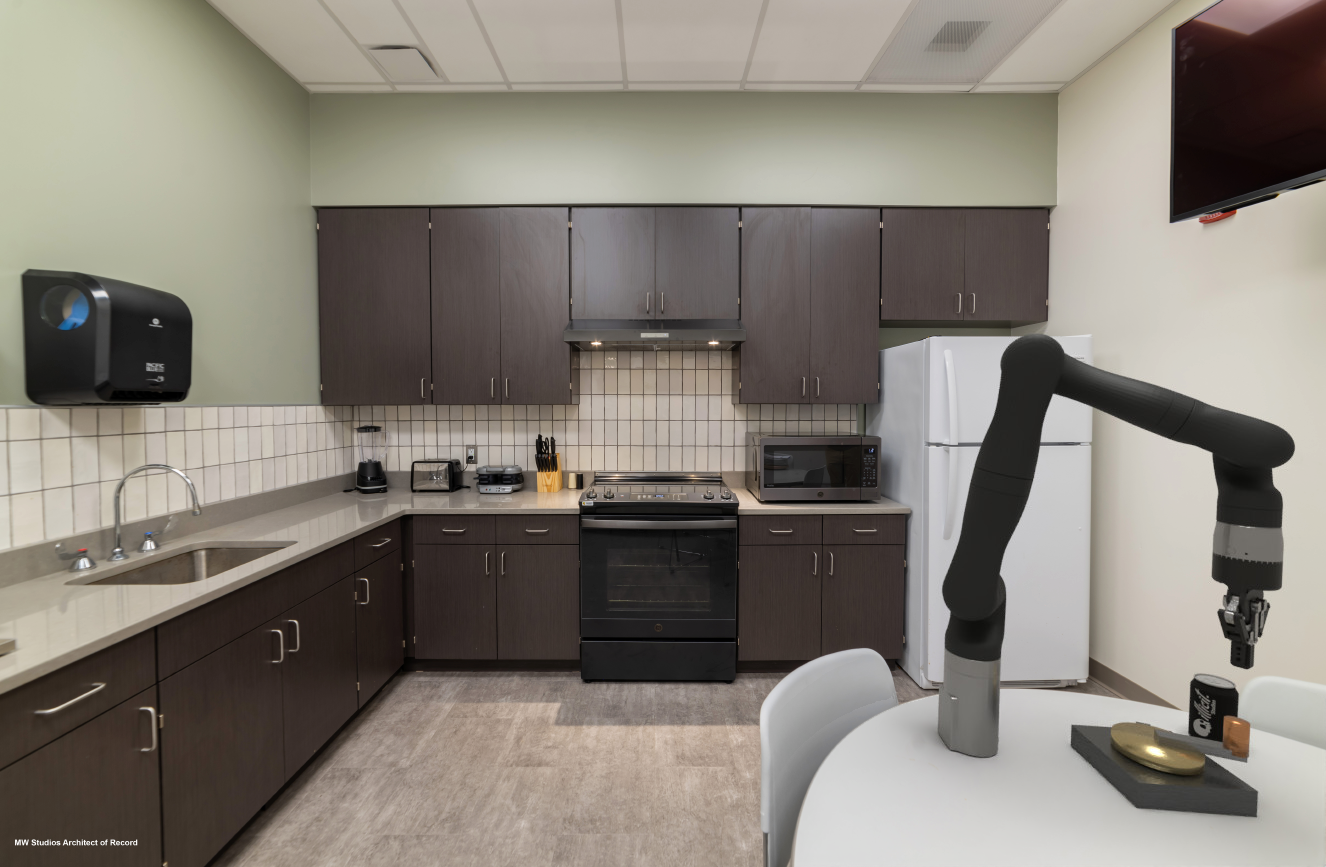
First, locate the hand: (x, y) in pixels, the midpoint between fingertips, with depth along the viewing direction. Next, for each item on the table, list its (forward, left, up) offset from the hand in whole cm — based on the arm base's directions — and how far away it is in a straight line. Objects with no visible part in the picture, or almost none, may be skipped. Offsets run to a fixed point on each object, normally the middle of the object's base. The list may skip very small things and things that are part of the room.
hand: (1241, 666), depth 88 cm
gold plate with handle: (-3, +8, -19) cm, 20 cm away
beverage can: (+13, +21, -23) cm, 34 cm away
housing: (-6, +8, -23) cm, 25 cm away
